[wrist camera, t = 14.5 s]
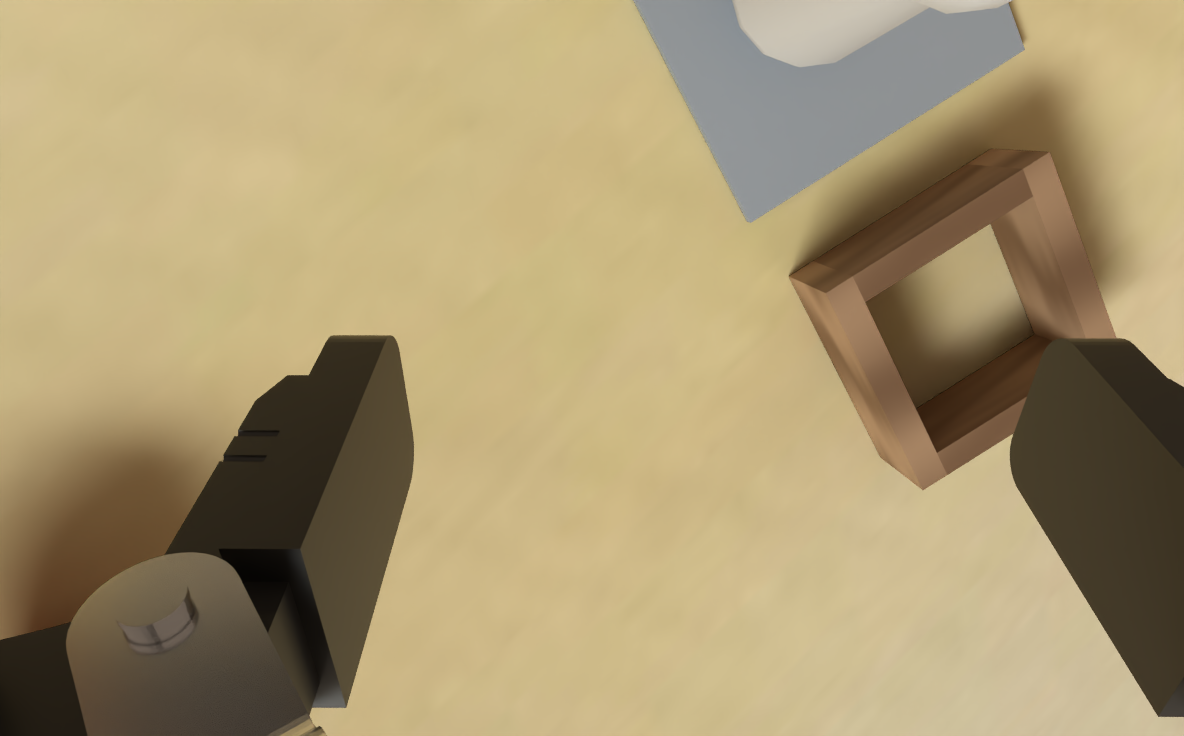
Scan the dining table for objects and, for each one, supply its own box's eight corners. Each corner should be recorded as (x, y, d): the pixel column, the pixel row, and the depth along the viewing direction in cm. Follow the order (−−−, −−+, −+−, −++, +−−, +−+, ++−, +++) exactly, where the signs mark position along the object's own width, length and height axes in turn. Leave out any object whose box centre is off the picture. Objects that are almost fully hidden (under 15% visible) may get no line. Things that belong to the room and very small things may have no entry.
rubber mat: (626, -13, 30) (629, -15, 30) (928, -204, 30) (934, -208, 30) (746, 221, 33) (750, 222, 33) (1018, 50, 33) (1024, 49, 33)
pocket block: (788, 276, 34) (825, 293, 31) (990, 148, 34) (1049, 151, 31) (880, 457, 38) (923, 490, 34) (1065, 341, 38) (1125, 362, 34)
